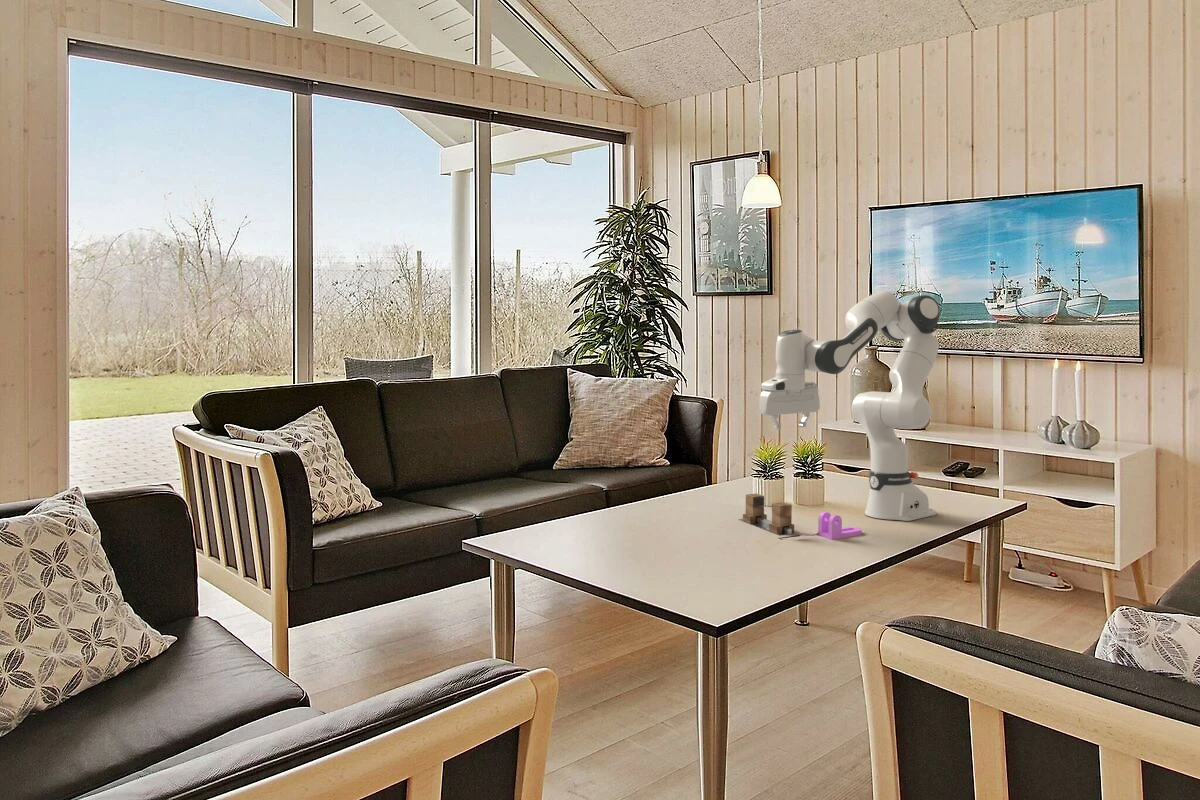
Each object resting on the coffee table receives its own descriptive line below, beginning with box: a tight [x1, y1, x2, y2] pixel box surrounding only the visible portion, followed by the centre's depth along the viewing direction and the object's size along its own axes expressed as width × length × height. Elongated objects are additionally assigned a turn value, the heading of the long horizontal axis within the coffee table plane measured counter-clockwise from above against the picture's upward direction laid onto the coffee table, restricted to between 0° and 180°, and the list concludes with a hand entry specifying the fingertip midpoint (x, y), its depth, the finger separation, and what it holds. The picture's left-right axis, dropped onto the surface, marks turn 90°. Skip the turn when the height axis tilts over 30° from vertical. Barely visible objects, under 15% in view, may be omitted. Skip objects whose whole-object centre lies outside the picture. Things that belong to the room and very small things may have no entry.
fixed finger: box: [742, 493, 768, 524], centre depth 272 cm, size 6×5×8 cm
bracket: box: [817, 511, 863, 541], centre depth 258 cm, size 13×6×7 cm, turn 118°
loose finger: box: [768, 501, 795, 535], centre depth 259 cm, size 6×5×8 cm
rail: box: [738, 516, 801, 540], centre depth 266 cm, size 7×22×2 cm, turn 23°
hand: (789, 428), depth 273 cm, fingers open, 8 cm apart
